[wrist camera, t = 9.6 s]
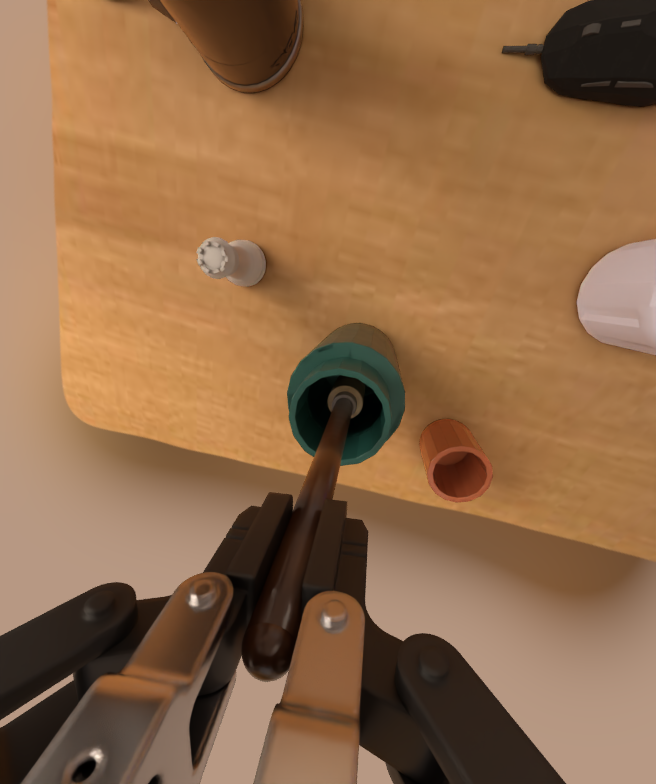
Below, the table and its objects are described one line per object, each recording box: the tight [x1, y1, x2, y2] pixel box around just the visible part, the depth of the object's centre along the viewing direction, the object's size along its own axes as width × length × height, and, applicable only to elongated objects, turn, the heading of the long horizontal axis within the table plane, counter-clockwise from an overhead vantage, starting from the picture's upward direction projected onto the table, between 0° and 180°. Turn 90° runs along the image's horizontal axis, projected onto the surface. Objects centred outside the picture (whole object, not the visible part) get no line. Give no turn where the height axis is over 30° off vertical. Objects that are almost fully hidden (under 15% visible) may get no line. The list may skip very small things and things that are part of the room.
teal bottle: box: [287, 323, 405, 466], centre depth 29 cm, size 8×8×18 cm
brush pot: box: [419, 419, 493, 502], centre depth 35 cm, size 6×6×7 cm
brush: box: [241, 375, 365, 682], centre depth 17 cm, size 2×2×22 cm
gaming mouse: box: [502, 0, 656, 107], centre depth 26 cm, size 6×15×4 cm, turn 82°
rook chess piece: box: [197, 237, 266, 287], centre depth 32 cm, size 4×4×8 cm
